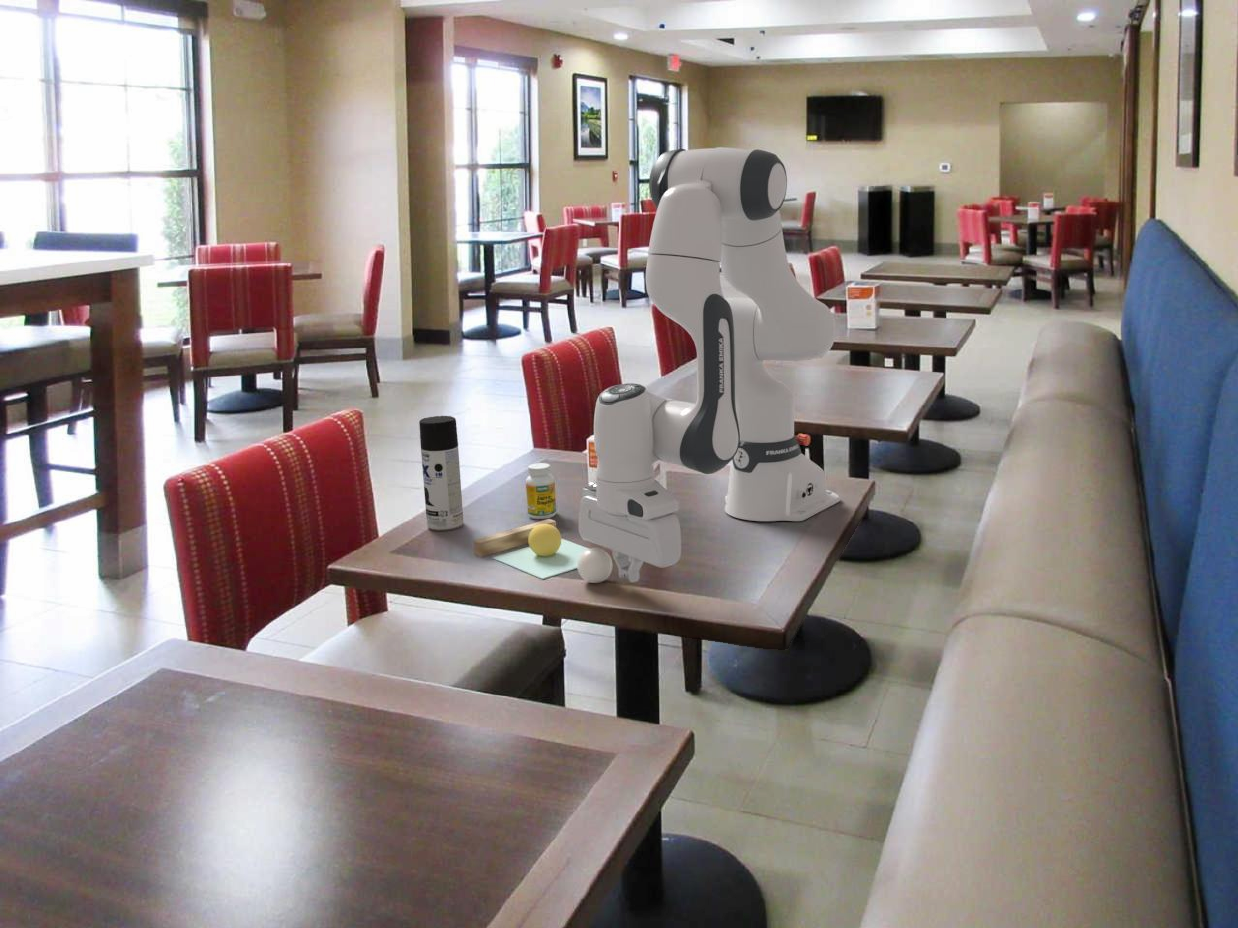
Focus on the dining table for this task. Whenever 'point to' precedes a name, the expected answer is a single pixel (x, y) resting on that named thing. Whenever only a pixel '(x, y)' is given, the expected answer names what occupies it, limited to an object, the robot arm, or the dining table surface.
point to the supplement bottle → (540, 492)
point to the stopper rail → (506, 539)
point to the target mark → (544, 560)
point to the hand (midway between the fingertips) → (629, 579)
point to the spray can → (441, 473)
